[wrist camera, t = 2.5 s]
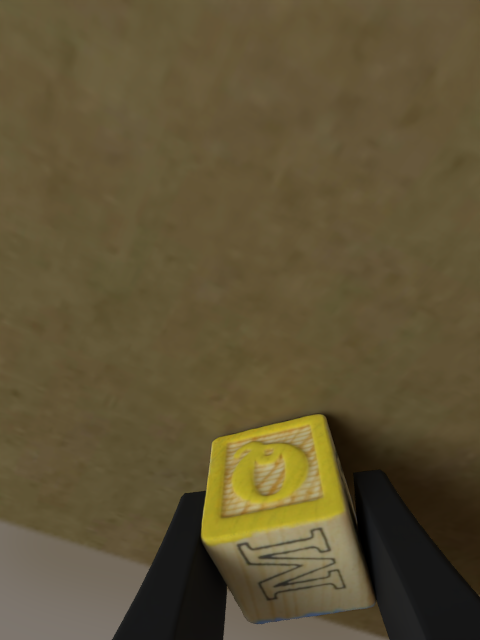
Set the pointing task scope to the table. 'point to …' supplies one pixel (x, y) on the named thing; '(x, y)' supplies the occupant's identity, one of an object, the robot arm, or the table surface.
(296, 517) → the alphabet block
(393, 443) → the table surface
